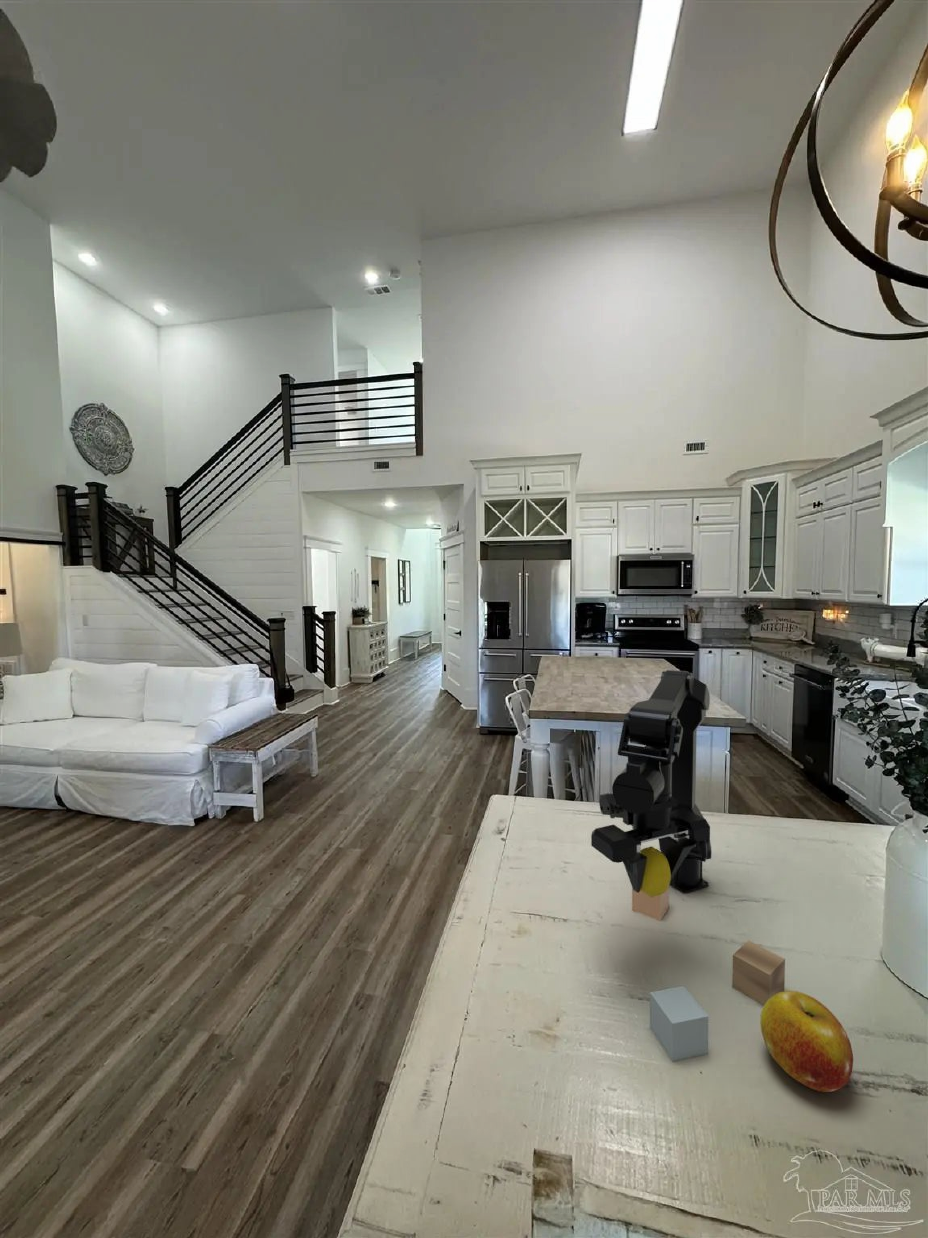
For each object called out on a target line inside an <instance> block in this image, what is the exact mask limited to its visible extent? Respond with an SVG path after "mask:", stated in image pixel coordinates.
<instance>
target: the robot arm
mask: <svg viewBox="0 0 928 1238" xmlns="http://www.w3.org/2000/svg"><path fill="white" fill-rule="evenodd" d="M709 691H710V690H709V689H708V686H707V684H706V683H704V682H703V681H700V680H699V679H697V678H696V677H694V674H693V673H692V672H689V671H688V670H687V671H686V670H673V669H672V670H671V669H667V670H662V672H661V676H660V681H659V682H658V684H657V686H656V687H655V689H654V690H653V692H652V694H651V695H650V697H649V698H648V699H647V700H643V701H637V702H636V703H634V705H633V706H631V708H629V711H628V712H626V713H625V715H624V718H623V723H622V729H621V733H620V738H619V744H618V750H617V755H618V756H621V757H626V758H627V762H626V764H625V765H626V767H625V768H624V769H623V770H622V771H621V772H620V773H619V774H618V775H617V776H616V777H615V779H614V780H613V782H612V788H611V791H612V792H611V793H609V792H608V793H603V794H599V805H598V806H599V810H600V812H601V814H602V815H605V816H609V818H610V819H615V818H618V819H622V823H624V824H625V825H627V826H631V827H632V829H630V830H626V831H624V830H623V829H622V828H620V827H618V826H617V825H616V824H611V825H609V824H608V825H606V826H601V827H596V828H595V829H594V830H592V831H591V835H590V836H591V837H590V839H591V841H590V842H591V843H590V844H591V847H592V848H594V849H595V850H596V851H598V852H599V853H600V854H602V855H603V856H604V857H605V858H607V859H609V861H611V862H612V863H617V864H619V863H623V866H624V869H625V870H626V871H625V872H626V873H627V876H628V879H629V882H630V885H631V889H632V888H633V890H634V891H636V892H637V893H638V892H640V889H641V886H642V882H643V877H644V872H645V867H646V862H647V857H646V856H644V855H643V854H641V850H642V849H641V847H642V844H644V843H647V842H648V843H649V842H652V841H655V840H658V843H659V845H658V847H659V851H660V852H662V853H663V854H664V855H665V857H666V858H667V860H668V863H669V867H670V872H671V879H670V884H669V885H672V886H673V887H675V888H676V889H677V890H679V891H680V892H682V893H683V894H686V893H691V892H693V891H696V890H701V889H703V888H707V887H709V886H710V885H709V882H708V881H707V880H705V879H703V862H704V863H705V862H707V860H711V859H712V853H713V852H712V844H711V826H710V824H709V823H708V820H707V819H706V818H704V816H703V814H702V812H701V811H700V809H699V807H698V805H697V804H696V784H697V783H696V779H697V777H696V776H697V729H699V726H700V725H701V723H702V722H704V720H705V718H706V716H707V711H709V709H710V701H711V700H710V699H711V697H710V692H709ZM629 743H630V744H629ZM634 744H635V745H634ZM639 745H641V746H639Z"/></svg>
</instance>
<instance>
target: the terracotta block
mask: <svg viewBox="0 0 928 1238" xmlns="http://www.w3.org/2000/svg"><path fill="white" fill-rule="evenodd" d="M669 907H670V886H669V887H668V889H667V890H666V891H665V892H664V893H663V894H661V895H659V896H654V897H650V896H649V895H647V894H645V893H644V892H642V891H641V890H640V892H638V893H637V892H636V891H634V890H633V888H632V887H631V910H632V911H634V912H636V913H639V914H642V915H644V916H647V917H650V918H652V919H655V920H658V921H661V920H662V919H663V917H664V915H665V913H666V912H667V910H668V908H669Z"/></svg>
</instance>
